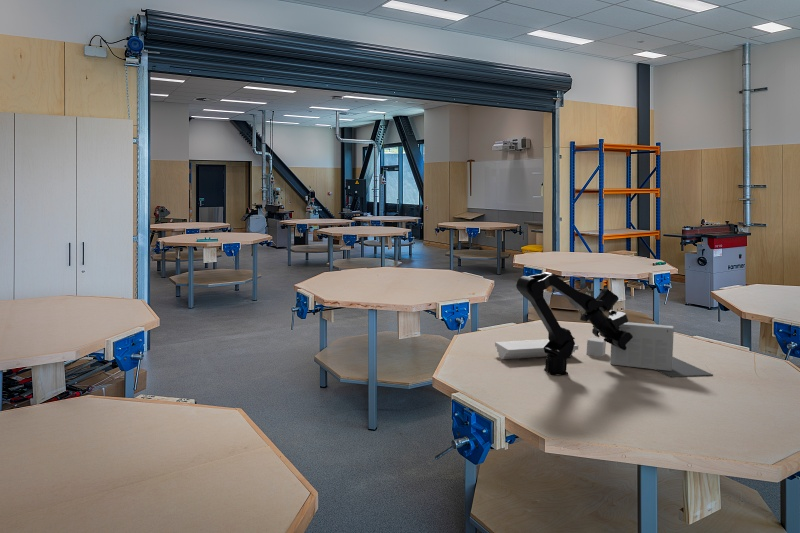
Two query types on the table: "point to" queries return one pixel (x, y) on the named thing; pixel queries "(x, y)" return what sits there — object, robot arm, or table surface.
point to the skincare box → (645, 347)
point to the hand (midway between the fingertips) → (625, 349)
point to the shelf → (523, 349)
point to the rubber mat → (684, 370)
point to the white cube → (596, 346)
